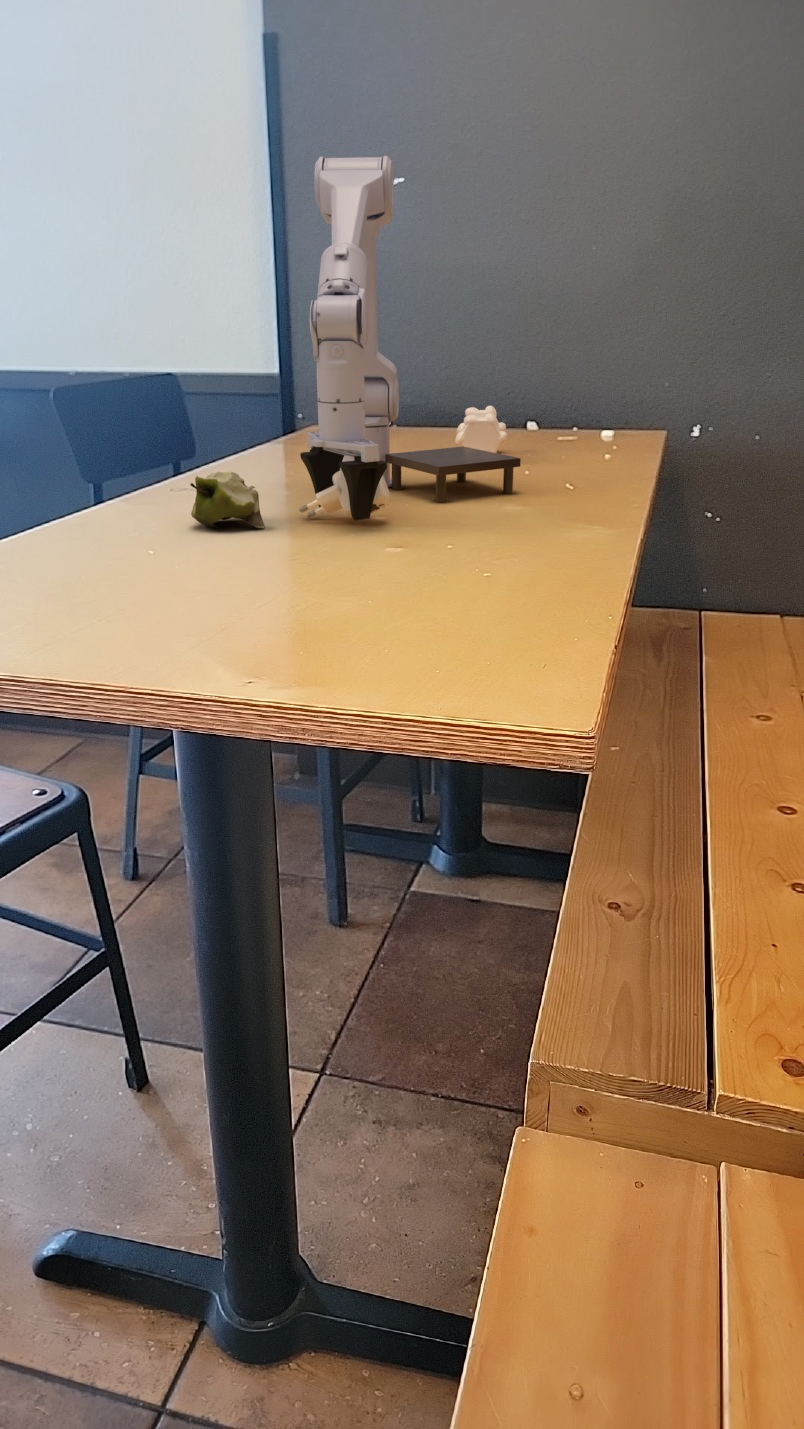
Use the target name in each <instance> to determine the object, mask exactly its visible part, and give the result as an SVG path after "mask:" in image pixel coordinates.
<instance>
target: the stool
mask: <svg viewBox="0 0 804 1429" xmlns="http://www.w3.org/2000/svg"><path fill="white" fill-rule="evenodd" d="M385 462H387V463H390V465H391V480H392V486H391V490H394V491H400V490H402V468H406V469H410V470H414V471H418V472H422V473H426V474H431V475H435V502H436V503H446V502H447V476H449V475H450V476H451V475H456V482H457V483H465V482H466V481H467V473H477V472H485V471H493V470H494V471H495V470H503V477H502V478H503V480H502V494H504V495H510V494H513V492H514V468H520V467H521V462H522V460H521V457H517V456H512V455H507V454H502V453H498V452H497V453H493V452H488V451H483V450H478V449H474V448H469V447H464V446H455V447H454V446H453V447H443V448H433V449H424V450H413V451H404V452H394V453H393V452H392V453H390V454H385Z"/></svg>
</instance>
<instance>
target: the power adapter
mask: <svg viewBox="0 0 804 1429" xmlns="http://www.w3.org/2000/svg"><path fill="white" fill-rule="evenodd" d="M332 481H333V484H334V485H333V486H331V487H329V488H327V489H325V490H323V491H321V492H319V493H317V494H315V498H316V499H315V500H313V501H311V502H309V503H307V504H303V505H302V506H300V507H299V508H298V510H299V512H300V513H301V514H303V513H305V512H306V511H308V512H307V513H306V517H307V518H308V519H311V518H314V517H316V516H317V515H319V514H321V513H323V512H328V513H329V514H333V513H335V512H337V511H339V510H341V509H342V511H343V512H344V514H346V516H348V517H349V518H350V519H352V515H351V510H350V502H349V493H348V488H347V484H346V480H345V477H344V474H343V472H342V470H340V471H338V472H336V473H335V474H334V475H333V476H332ZM391 503H392V496H391V492H390V489H389V487H387V484H386V481H385V479H384V476H382V477H381V480H380V482H379V484H378V487H377V490H376V493H375V497H374V501H373V505H372V510H371V514H373V513H376V512H377V511H380V510H381V509H383V508H385V507H387V506H389V505H391ZM319 504H320V506H321V507H320V508H319V507H317V506H319ZM314 507H317V508H316V509H314V510H310V509H312V508H314ZM309 510H310V511H309Z"/></svg>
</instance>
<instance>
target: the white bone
mask: <svg viewBox="0 0 804 1429" xmlns="http://www.w3.org/2000/svg"><path fill="white" fill-rule="evenodd" d="M464 415H465V416H464V418H463V422H461V423H460V424H459V425H458V426H457V428H456V436H455V439H454V443H455V444H456V446H457V447H463V446H464V447H469V448H474V449H478V450H483V451H488V452H493V453H498V452H497V451H498V449H499V448H500V446H503V445H504V444H506V442H507V441H508V440H507V439H508V433H507V432H506V430H507V425H506V423H505V422H503V421H502V422H499V420H498V419H497V415H498V413H497V410H496V408H495V407H494V406H493V405H487V406H486V407H485V409H478V408H477V407H474V406H470V407H468V408H466V409H465V410H464Z"/></svg>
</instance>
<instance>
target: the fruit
mask: <svg viewBox="0 0 804 1429" xmlns="http://www.w3.org/2000/svg"><path fill="white" fill-rule="evenodd" d="M194 482H195V484H194ZM194 482H191V483H190V486H191V487H192V488H194V489H195V491H196V494H195V500H194V503H193V505H192V510H191V513H190V516H191V517H192V518H193V519H194V520H195V521H197V522H198V523H200V524H201V525H203V526H205V527H207V528H214V529H215V528H216V529H219V528H220V527H219V526H217V525H215V524H214V523H217V522H219V521H227V520H230V519H237V520H240V521H241V520H242V521H244V522H245V523H247V524H249V525H251V526H253V527H255V528H257V529H263V530H264V529H265V528H266V525H265V522H264V520H263V517H262V514H261V508H260V494H259V492H258V490H256V487H255V486H254V485H250V486H247V485H246V484H245V479H244V478H242V477H240V475H239V474H238V473H236V472H233V471H227V472H221V471H216V472H215V473H213V472H212V473H210V474H208V475H207V476H206V477H205V478H204V477H200V476H199V475H197V476H195V479H194Z"/></svg>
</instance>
